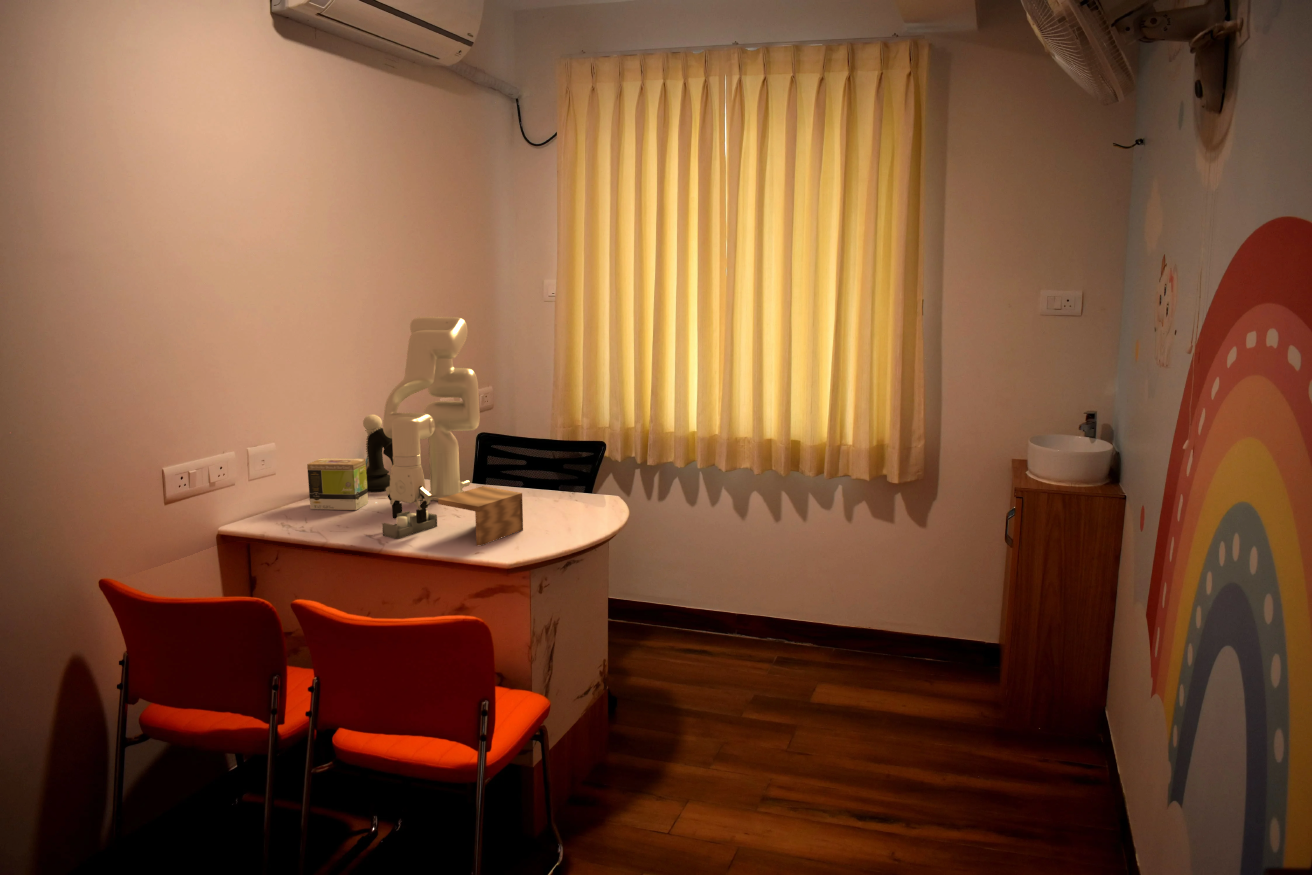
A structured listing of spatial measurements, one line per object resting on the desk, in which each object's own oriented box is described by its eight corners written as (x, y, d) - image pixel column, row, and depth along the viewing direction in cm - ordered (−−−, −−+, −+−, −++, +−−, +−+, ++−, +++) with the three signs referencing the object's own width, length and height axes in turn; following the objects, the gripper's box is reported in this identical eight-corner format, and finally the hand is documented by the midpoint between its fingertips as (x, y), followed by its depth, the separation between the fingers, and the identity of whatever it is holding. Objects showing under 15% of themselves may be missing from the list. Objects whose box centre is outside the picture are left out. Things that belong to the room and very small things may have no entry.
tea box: (369, 503, 292) (366, 457, 289) (355, 511, 282) (353, 464, 279) (323, 501, 293) (321, 456, 290) (309, 509, 283) (306, 463, 280)
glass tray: (382, 535, 257) (381, 518, 256) (422, 523, 269) (421, 506, 268) (397, 538, 253) (396, 521, 252) (437, 526, 266) (436, 509, 265)
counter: (483, 522, 270) (482, 486, 268) (523, 530, 262) (522, 492, 260) (439, 537, 255) (438, 498, 253) (479, 545, 247) (478, 506, 245)
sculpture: (374, 480, 323) (370, 410, 318) (430, 486, 314) (427, 414, 309) (344, 489, 309) (340, 416, 304) (402, 496, 300) (399, 421, 295)
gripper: (375, 460, 259) (378, 518, 261) (419, 466, 250) (421, 527, 252) (395, 455, 265) (398, 513, 268) (439, 462, 256) (441, 521, 259)
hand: (409, 520), depth 260 cm, fingers open, 9 cm apart
